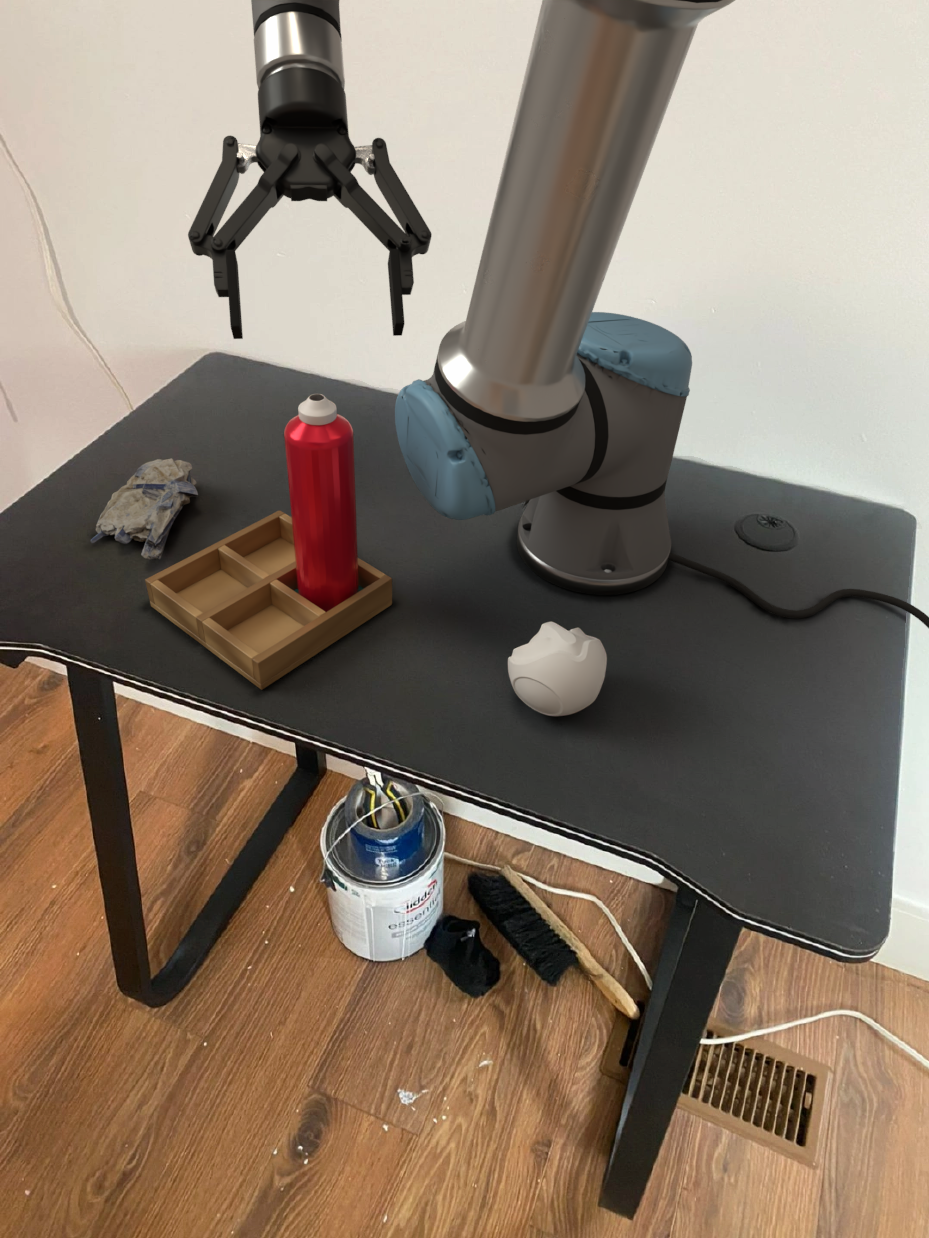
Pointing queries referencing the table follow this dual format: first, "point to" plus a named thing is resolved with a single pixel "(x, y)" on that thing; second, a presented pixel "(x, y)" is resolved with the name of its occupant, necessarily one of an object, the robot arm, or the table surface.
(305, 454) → the bottle
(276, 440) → the table surface
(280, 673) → the wooden divided tray
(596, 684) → the off-white rounded piece
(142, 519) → the crumpled cloth bundle
